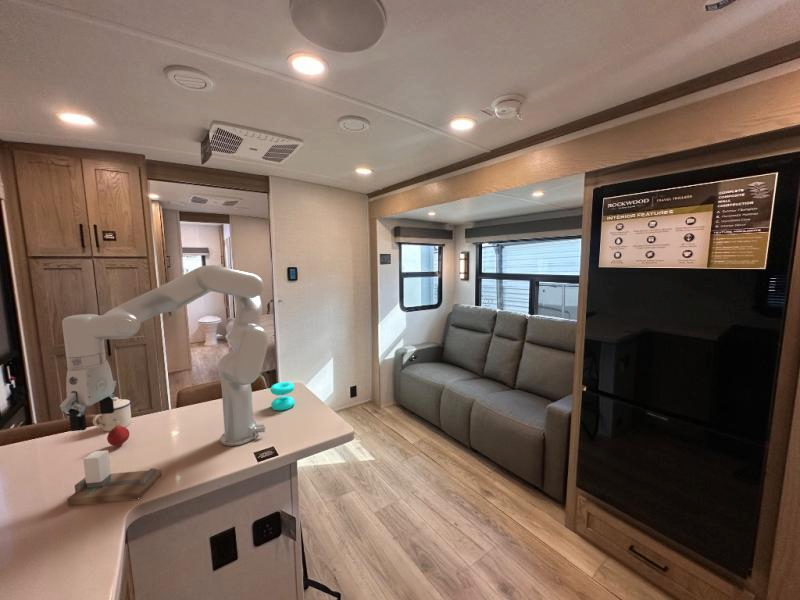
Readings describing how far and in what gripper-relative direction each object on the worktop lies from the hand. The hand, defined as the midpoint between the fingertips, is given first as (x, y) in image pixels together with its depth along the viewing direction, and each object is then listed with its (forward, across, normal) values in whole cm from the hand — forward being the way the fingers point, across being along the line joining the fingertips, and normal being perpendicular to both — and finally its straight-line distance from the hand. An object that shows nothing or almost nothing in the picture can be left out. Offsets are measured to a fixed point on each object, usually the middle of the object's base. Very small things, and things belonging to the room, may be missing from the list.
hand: (94, 421), depth 88 cm
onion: (+20, +24, +12) cm, 34 cm away
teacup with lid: (+20, +40, +24) cm, 50 cm away
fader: (+18, 0, 0) cm, 18 cm away
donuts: (+21, +49, -39) cm, 66 cm away
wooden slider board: (+20, 0, -4) cm, 21 cm away
